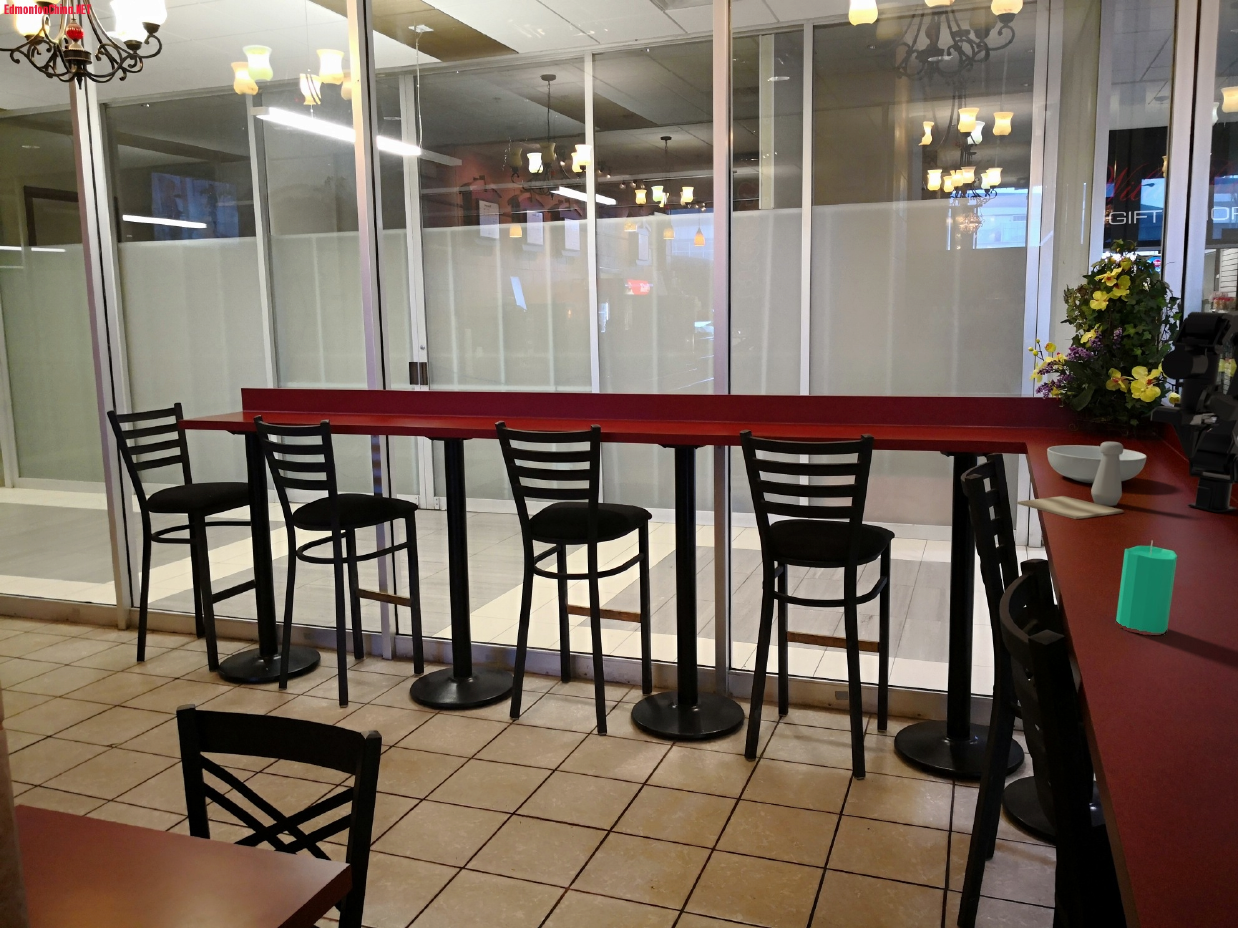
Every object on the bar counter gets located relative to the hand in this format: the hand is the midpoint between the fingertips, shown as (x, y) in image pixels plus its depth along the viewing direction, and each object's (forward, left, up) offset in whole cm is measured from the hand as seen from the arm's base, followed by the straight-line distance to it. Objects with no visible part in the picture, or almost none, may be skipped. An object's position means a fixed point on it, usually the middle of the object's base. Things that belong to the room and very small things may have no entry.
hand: (1189, 457), depth 189 cm
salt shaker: (+4, -14, -12) cm, 19 cm away
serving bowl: (-16, -32, -12) cm, 38 cm away
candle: (+67, +38, -12) cm, 78 cm away
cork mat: (+15, -14, -12) cm, 24 cm away
